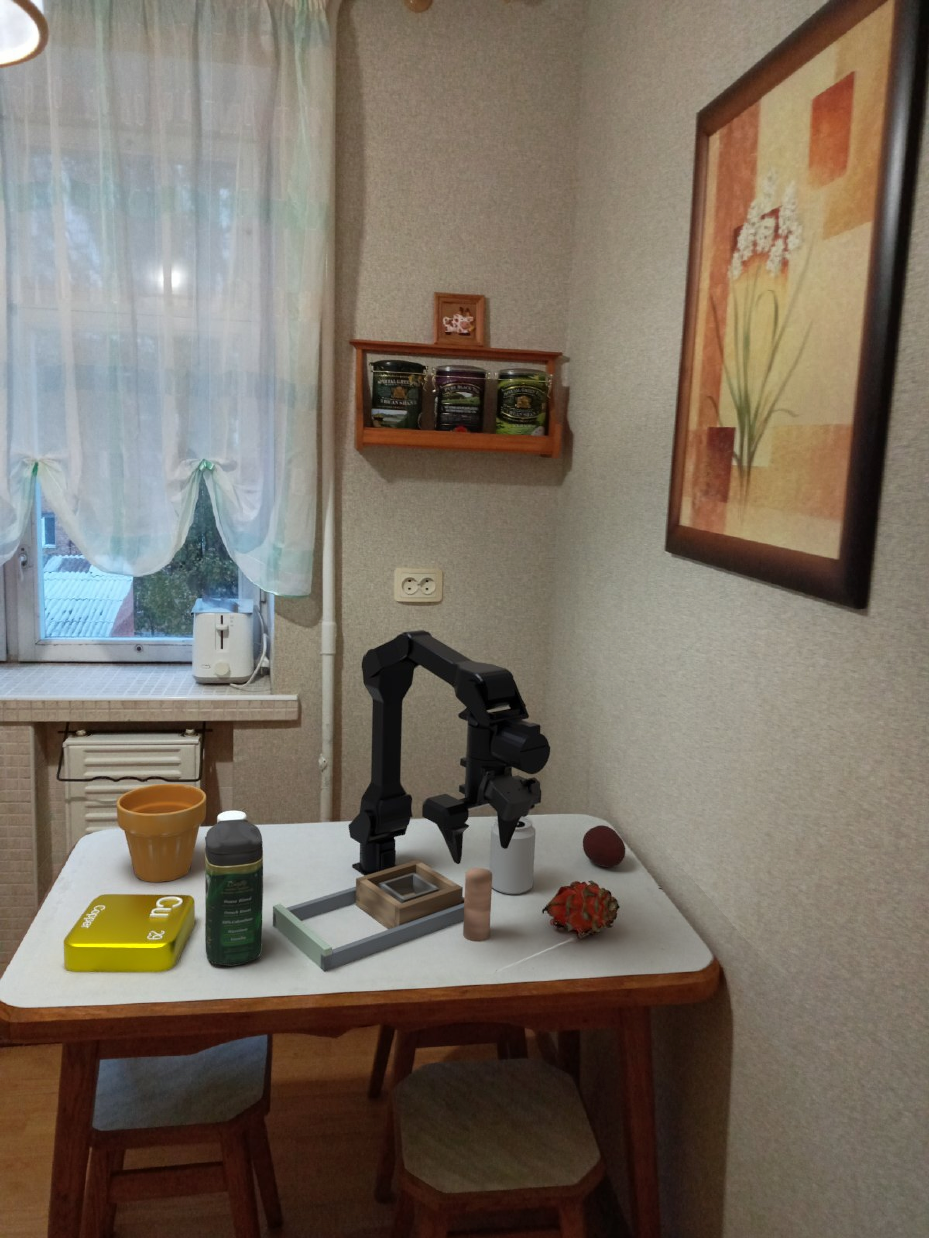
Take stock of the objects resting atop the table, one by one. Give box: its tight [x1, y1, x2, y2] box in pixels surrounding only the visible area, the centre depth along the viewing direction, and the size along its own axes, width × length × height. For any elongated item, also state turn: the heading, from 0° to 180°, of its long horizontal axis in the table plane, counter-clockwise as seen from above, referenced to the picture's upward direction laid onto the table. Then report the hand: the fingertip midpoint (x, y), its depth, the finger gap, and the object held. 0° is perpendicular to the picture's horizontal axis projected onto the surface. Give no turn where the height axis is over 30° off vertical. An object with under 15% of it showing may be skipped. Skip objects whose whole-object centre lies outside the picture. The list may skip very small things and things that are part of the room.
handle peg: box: [462, 867, 493, 943], centre depth 133 cm, size 4×4×10 cm
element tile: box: [62, 893, 196, 973], centre depth 128 cm, size 15×15×5 cm
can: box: [488, 816, 537, 895], centre depth 149 cm, size 8×8×12 cm
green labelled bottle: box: [204, 819, 264, 967], centre depth 126 cm, size 10×8×19 cm
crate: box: [355, 859, 464, 930], centre depth 140 cm, size 12×12×4 cm
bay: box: [272, 886, 465, 972], centre depth 136 cm, size 15×27×4 cm, turn 129°
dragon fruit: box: [541, 880, 621, 939], centre depth 136 cm, size 8×8×12 cm
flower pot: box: [116, 783, 207, 883], centre depth 150 cm, size 14×14×13 cm
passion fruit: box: [582, 824, 626, 868], centre depth 160 cm, size 7×8×7 cm
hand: (481, 855), depth 132 cm, fingers open, 9 cm apart
